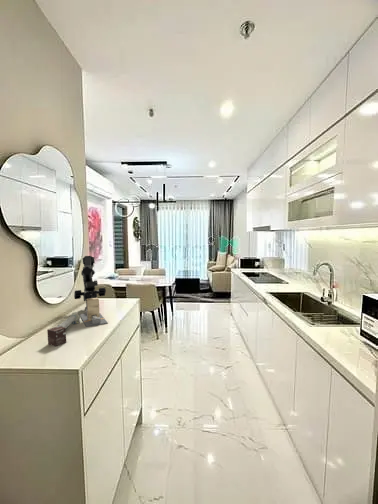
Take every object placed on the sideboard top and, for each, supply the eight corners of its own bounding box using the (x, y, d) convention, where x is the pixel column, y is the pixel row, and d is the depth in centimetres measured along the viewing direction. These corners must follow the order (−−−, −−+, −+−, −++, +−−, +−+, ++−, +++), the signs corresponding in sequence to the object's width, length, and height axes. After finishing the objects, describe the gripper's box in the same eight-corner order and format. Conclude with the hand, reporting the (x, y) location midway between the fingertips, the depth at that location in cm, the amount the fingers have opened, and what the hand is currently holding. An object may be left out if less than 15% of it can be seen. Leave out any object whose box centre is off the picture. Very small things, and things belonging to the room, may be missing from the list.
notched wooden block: (87, 318, 181) (86, 298, 181) (98, 316, 184) (97, 297, 184) (88, 320, 177) (87, 300, 176) (99, 318, 180) (98, 299, 179)
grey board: (79, 315, 194) (79, 309, 194) (98, 312, 199) (98, 307, 199) (86, 326, 167) (85, 320, 167) (107, 323, 173) (107, 317, 172)
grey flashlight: (51, 328, 154) (72, 309, 179) (53, 340, 156) (73, 320, 180) (61, 328, 154) (80, 309, 179) (63, 339, 156) (82, 320, 180)
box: (55, 346, 138) (54, 331, 138) (47, 344, 141) (46, 329, 141) (66, 342, 143) (65, 327, 143) (59, 340, 146) (58, 325, 146)
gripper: (73, 277, 182) (76, 298, 173) (104, 275, 191) (108, 294, 181) (73, 288, 190) (75, 309, 180) (102, 285, 198) (106, 305, 189)
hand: (92, 304), depth 183 cm, fingers closed, pressing on notched wooden block
